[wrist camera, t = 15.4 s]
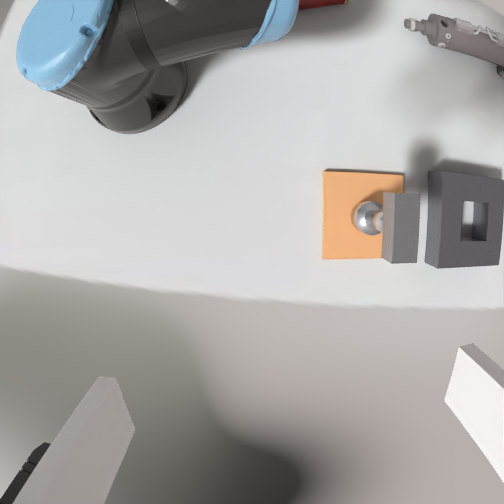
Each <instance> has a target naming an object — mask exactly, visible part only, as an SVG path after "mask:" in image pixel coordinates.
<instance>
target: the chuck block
mask: <svg viewBox="0 0 504 504" xmlns="http://www.w3.org/2000/svg"><path fill="white" fill-rule="evenodd" d="M462 201H473V202H474V217H473V233H472V237H461V222H462ZM503 212H504V180H501V179H495V178H489V177H483V176H476V175H470V174H463V173H455V172H448V171H428V224H427V240H426V253H425V263H427V264H429V265H432V266H434V267H436V268H456V267H474V266H491V265H499V259H500V250H501V240H502V229H503Z"/></svg>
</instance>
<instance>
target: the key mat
mask: <svg viewBox="0 0 504 504" xmlns="http://www.w3.org/2000/svg"><path fill="white" fill-rule="evenodd" d="M383 192H385V193H403V175H390V174H374V173H355V172H328V171H324V172H323V251H322V258H323V260H324V259H369V258H382V257H381V252H382V232H381V233H380V234H378V235H373V236H372V235H367V234H365V233H363V232H360V231H358V230H357V229H356V228H355V227H354V226H353V224H352V222H351V212H352V209H353V207H354V206H355V205H356V204H357V203H359V202H361V201H372V202H377V203H380V204H381V205H382V206H383Z"/></svg>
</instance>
